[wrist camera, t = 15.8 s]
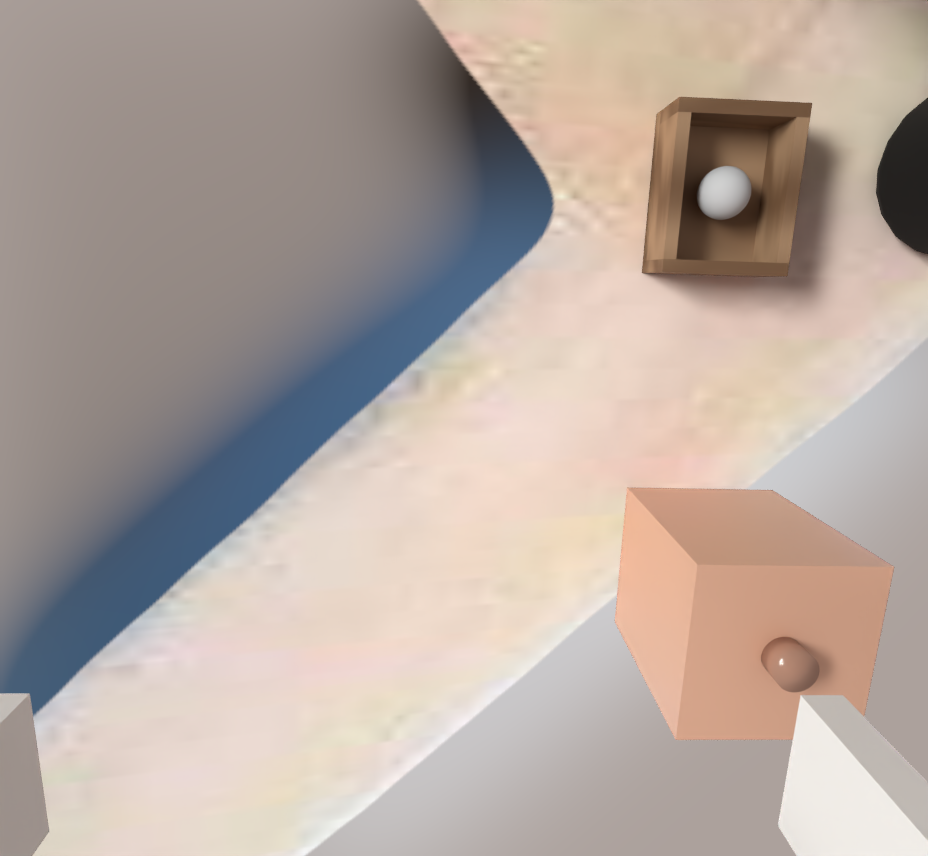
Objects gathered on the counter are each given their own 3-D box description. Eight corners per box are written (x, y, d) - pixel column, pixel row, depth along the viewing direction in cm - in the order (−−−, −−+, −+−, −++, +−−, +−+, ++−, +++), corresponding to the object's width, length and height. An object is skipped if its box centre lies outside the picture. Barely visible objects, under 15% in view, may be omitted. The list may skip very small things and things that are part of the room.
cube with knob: (627, 487, 47) (710, 578, 33) (772, 490, 47) (915, 580, 33) (614, 621, 49) (686, 760, 35) (752, 622, 50) (878, 759, 36)
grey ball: (691, 169, 41) (712, 160, 38) (740, 171, 41) (764, 162, 38) (686, 220, 42) (706, 216, 39) (733, 222, 42) (757, 218, 39)
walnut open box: (656, 114, 41) (679, 96, 37) (776, 119, 41) (812, 103, 37) (641, 272, 43) (662, 272, 39) (756, 276, 44) (787, 276, 40)
